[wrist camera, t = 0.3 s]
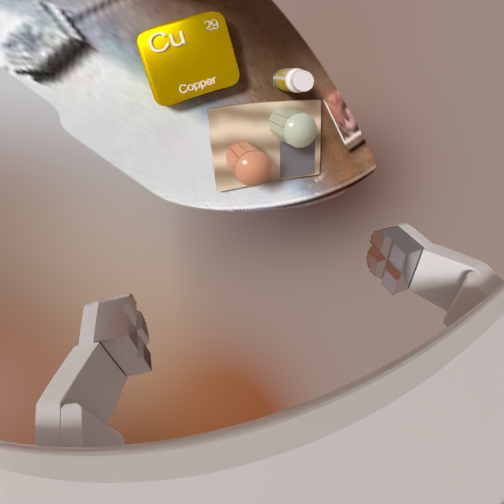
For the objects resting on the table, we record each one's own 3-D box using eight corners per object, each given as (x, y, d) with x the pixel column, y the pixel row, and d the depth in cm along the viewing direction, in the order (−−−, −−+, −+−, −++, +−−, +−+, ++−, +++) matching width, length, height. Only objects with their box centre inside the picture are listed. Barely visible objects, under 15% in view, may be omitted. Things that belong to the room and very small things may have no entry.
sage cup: (267, 108, 48) (283, 114, 42) (298, 106, 49) (317, 112, 43) (269, 139, 52) (284, 149, 46) (298, 136, 53) (316, 146, 47)
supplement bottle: (292, 92, 48) (312, 96, 42) (270, 88, 47) (288, 91, 40) (296, 71, 46) (318, 72, 39) (274, 65, 44) (294, 65, 38)
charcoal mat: (279, 142, 53) (280, 142, 52) (314, 138, 54) (315, 139, 54) (280, 178, 57) (281, 178, 57) (313, 173, 59) (314, 173, 59)
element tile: (158, 107, 43) (158, 110, 40) (135, 37, 34) (133, 33, 30) (236, 82, 45) (243, 83, 41) (217, 13, 35) (222, 8, 31)
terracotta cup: (224, 144, 50) (234, 154, 44) (256, 139, 51) (270, 149, 45) (227, 174, 53) (237, 189, 48) (258, 169, 55) (272, 182, 49)
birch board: (206, 108, 46) (208, 109, 45) (317, 99, 50) (321, 100, 49) (216, 189, 56) (218, 192, 55) (316, 171, 61) (319, 174, 60)
